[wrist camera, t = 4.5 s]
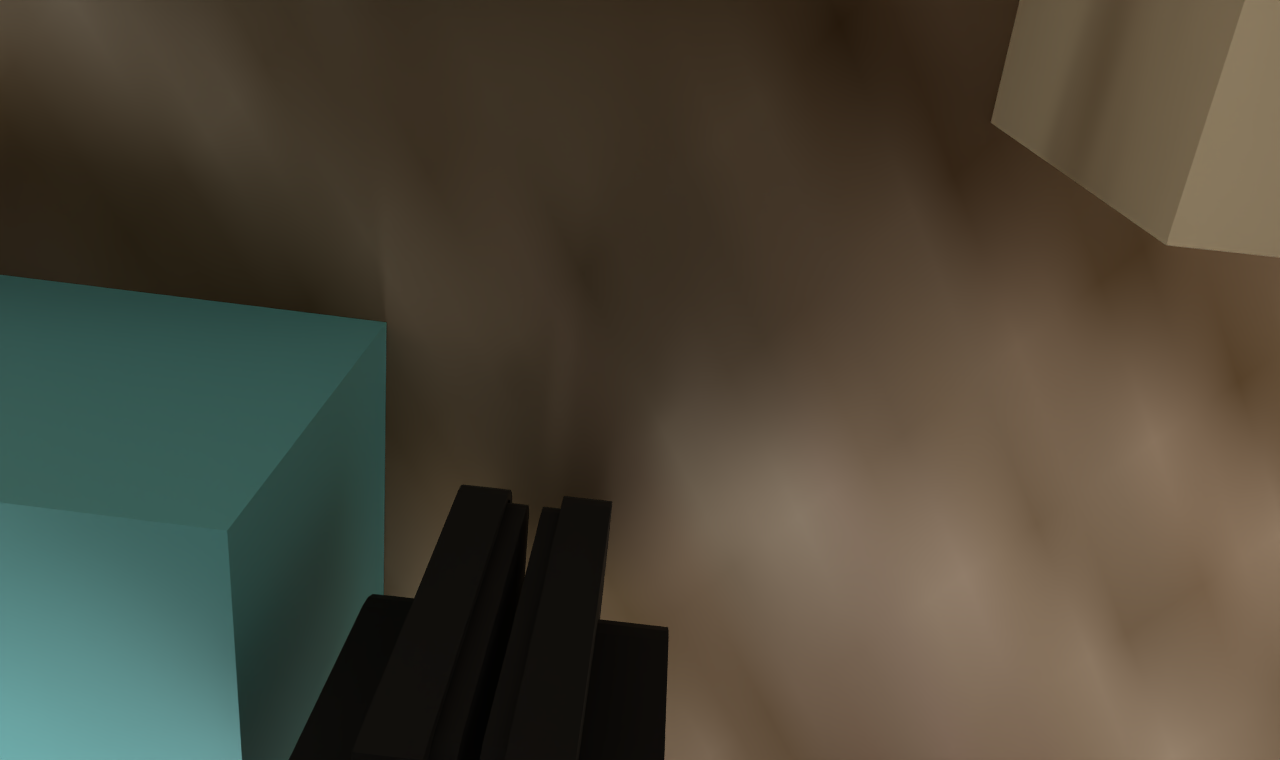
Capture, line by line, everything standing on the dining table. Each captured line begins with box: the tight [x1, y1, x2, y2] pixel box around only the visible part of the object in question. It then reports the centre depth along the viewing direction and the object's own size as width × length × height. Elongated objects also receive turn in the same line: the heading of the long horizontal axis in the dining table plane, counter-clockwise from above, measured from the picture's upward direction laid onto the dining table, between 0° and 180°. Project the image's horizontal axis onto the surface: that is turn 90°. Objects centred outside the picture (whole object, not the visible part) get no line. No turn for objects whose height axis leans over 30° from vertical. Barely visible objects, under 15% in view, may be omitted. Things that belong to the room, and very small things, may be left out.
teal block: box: [0, 275, 387, 760], centre depth 11 cm, size 5×5×4 cm
